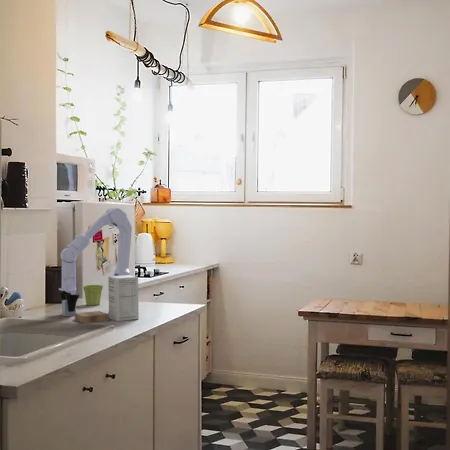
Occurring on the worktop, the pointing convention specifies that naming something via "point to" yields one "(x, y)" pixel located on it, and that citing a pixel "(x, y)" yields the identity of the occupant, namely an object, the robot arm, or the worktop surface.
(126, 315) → the supplement box
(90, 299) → the plant pot
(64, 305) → the slate block
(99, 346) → the worktop surface
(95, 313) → the tan flat square block
